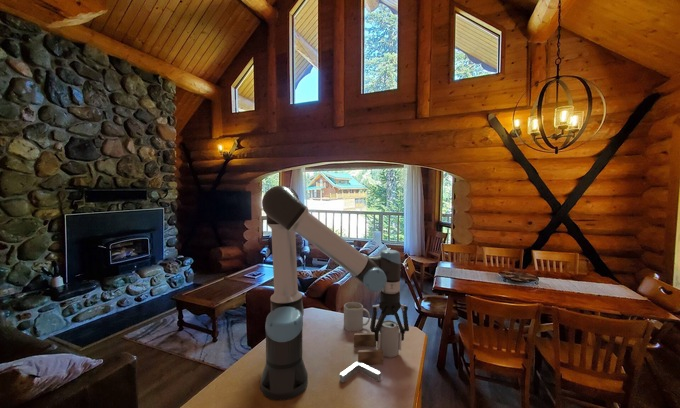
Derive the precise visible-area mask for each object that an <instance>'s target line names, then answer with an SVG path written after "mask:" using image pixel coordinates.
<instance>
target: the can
mask: <svg viewBox="0 0 680 408" xmlns="http://www.w3.org/2000/svg"><path fill="white" fill-rule="evenodd" d="M399 330H400V329H399V326H398V323H397V321H394V320H391V319H388V320H387V319H384V321H383V324H382V326H381V329H380V334H381V346H380V349H382V350H383V357H385V358H388V359H389V358H391V359H392V358H395V357H396V356H398V355H399V353H400V352H399V351H400V350H399Z"/></svg>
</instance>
